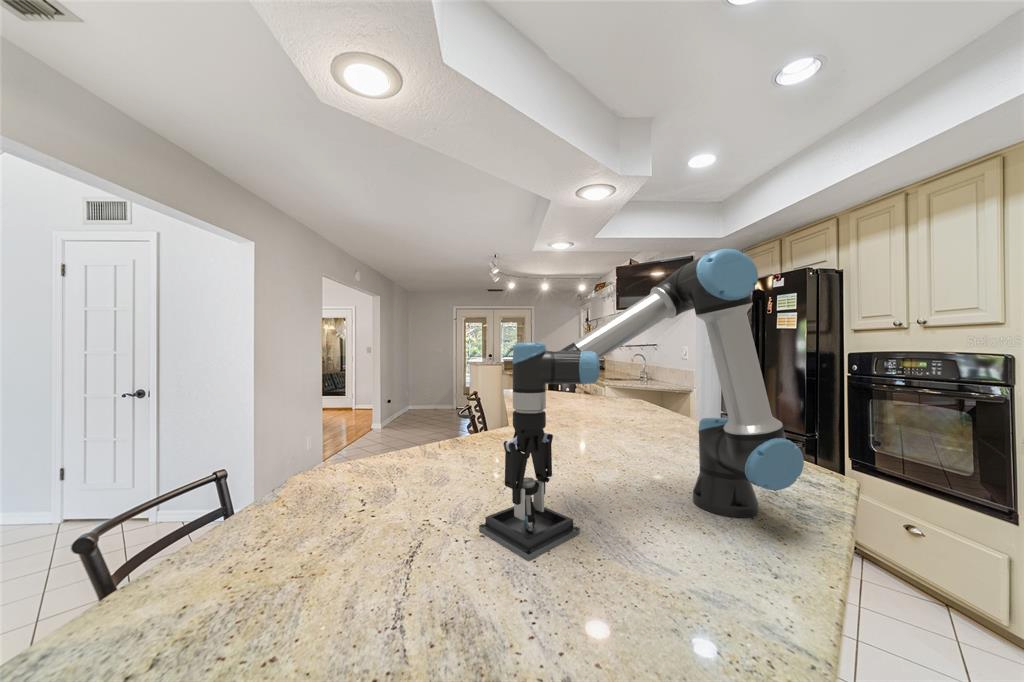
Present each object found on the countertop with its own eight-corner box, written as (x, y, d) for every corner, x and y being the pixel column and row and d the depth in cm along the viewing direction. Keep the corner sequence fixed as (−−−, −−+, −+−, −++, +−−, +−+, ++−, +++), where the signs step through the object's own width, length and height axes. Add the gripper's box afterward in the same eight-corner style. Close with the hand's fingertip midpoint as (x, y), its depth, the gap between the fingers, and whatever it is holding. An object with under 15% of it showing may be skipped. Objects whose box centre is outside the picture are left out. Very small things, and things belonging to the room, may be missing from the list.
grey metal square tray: (579, 533, 83) (579, 519, 83) (528, 561, 72) (528, 544, 72) (529, 510, 95) (529, 498, 95) (479, 531, 84) (479, 516, 84)
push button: (542, 532, 80) (540, 486, 80) (518, 534, 80) (515, 487, 80) (539, 518, 87) (537, 475, 87) (516, 519, 87) (514, 476, 87)
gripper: (544, 404, 93) (545, 498, 92) (487, 412, 81) (486, 520, 80) (568, 408, 87) (568, 507, 87) (509, 417, 75) (509, 533, 74)
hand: (529, 513), depth 83 cm, fingers closed on push button, 5 cm apart
